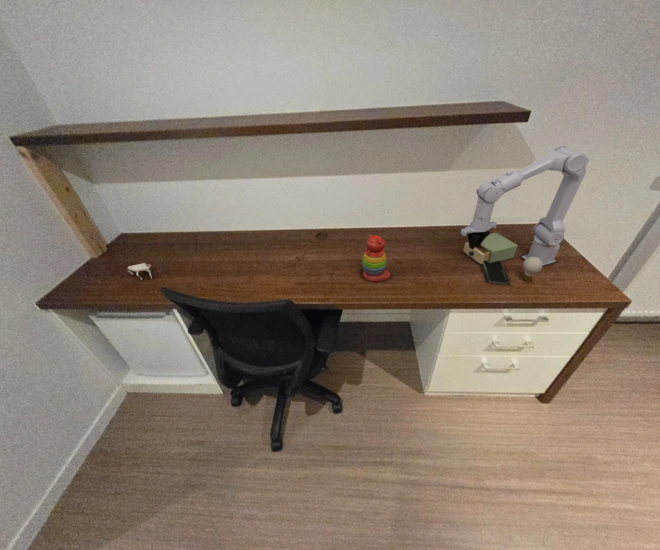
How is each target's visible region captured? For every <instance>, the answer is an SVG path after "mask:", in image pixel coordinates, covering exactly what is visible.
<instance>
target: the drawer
mask: <svg viewBox="0 0 660 550" xmlns="http://www.w3.org/2000/svg"><path fill="white" fill-rule="evenodd" d="M462 252H463V253H465V254H466V255H467V256H469V257H470V258H472V259H473V260H474V261H475V262H477V263H478V264H480V265H482V263H483V261H488V260H489V258H490V255H491V252H490V251H488V250H487V249H485V248H484V247H482V246H481V245H480V247H479V248H477V247H475V248H474V249H471V248H470V247H469V241H467V242H464V246H463V250H462Z"/></svg>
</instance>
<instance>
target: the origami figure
mask: <svg viewBox="0 0 660 550" xmlns="http://www.w3.org/2000/svg"><path fill="white" fill-rule="evenodd" d="M151 266H152V264H148V263H146V262H143V263H138V264H134V265H129V266H127V272H128V273H130V274H131V275H136V276H137V277H138V278H139V279H140V281H143V277H141V276H140V275H139V272H143V271H145V272H148V274H149V277H150V279H153V276H152V273H151V270H150V267H151ZM133 272H136V274H135V273H133Z"/></svg>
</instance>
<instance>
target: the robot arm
mask: <svg viewBox="0 0 660 550" xmlns="http://www.w3.org/2000/svg"><path fill="white" fill-rule="evenodd" d="M589 161H590V159H589V157H588V156H587V155H586V154H585V153H583V152H580V151H577V150H574V149H572V148H570V147H567V146H565V145H560V146H557V147H555V148H553V149H551V150H549V151H547V153H546V155H544V156H542V157H541V158H539V159H538V160H536V161H534V162H532V163H531V164H529V165H527V166H526V167H523V168H522V169H520V170H519V171H516V170H508V171H506V172H505V174H503V175H501V176H500V177H497V178H493V179H492V180H491V181H484V182H483V183H481V184H479V186H478V188H476V191H475V192H476V193H475V194H476V195H477V201H476V204H475V209H474V212H473V217H472V221H471V222H470V224H469V225H467V226H466V227H464V228H461V231H460V235H462V236H463V237H467V241H468V243H469V247H470V248H471V249H474V248H475V247H477V248H479V247H480V245H481V244H482V242H483V241H484V239H485V238H486V237H487V236H488V235H489V234H491V232H490V231H489V230H490V229H493V230H495V229H496V228H497V225H498V224H497V222H495V221H491V218H492V214H493V211H494V207H495V204H496V202H498V200H500V198H501V197H502V196H503V195H504V194H506V193H508V192H510V191H512V190H514V189H516V188H518V187H520V186H521V185H522V183H523V181H526V180H527V179H530V178H532V177H534V176H537V175H539V174H543V172H546V171H555V172H560V173H561V174H562V175H563V177H562V180H561V181H560V184H559V186H558V188H557V190H556V193H555V195H554V198H553V200H552V202H551V203H550V206H549V209H548V211H547V213H546V216H544V217H540V218H539V220H538V222H537V223H536V224H535V225H534V226H533V229H532V233H533V234H534V236H533V241H532V243H531V246H530V248H529V251H528V253H527V254H525V255H521V258H522V259H524V261H525V260H526V259H527V258H529V257H537V258H539V259H540V260H541V261H542V263H543V266H546V265H550V264H553V263H556V260H555V258H556V257H557V254H558V252H559V250H560V244H561V243H562V242H563V240H564V238H565V231H566V230H567V229H566V226H565V223H564V219H565V217H566V215H567V213H568V211H569V209H570V208H571V205H572V203H573V201H574V199H575V196H576V195H577V192H578V190H579V188H580V186H581V184H582V183H583V180H584V178H585V176H586V173H587V165H588V163H589Z"/></svg>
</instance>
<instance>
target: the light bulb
mask: <svg viewBox="0 0 660 550" xmlns="http://www.w3.org/2000/svg"><path fill="white" fill-rule="evenodd" d="M543 266H544V265H543V263H542V261H541V260H540V259H539V258H537V257H529V258H527V259H526V260H525V259H524V260H523V263H522V267H523V269H524V272H523V273H524V274H523V277H522V278H523V280H524V281H527V282H528V281H531V280H532V278H534V276H535V274H537V273H539V272H540V271H541V270H542V269H543Z"/></svg>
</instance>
